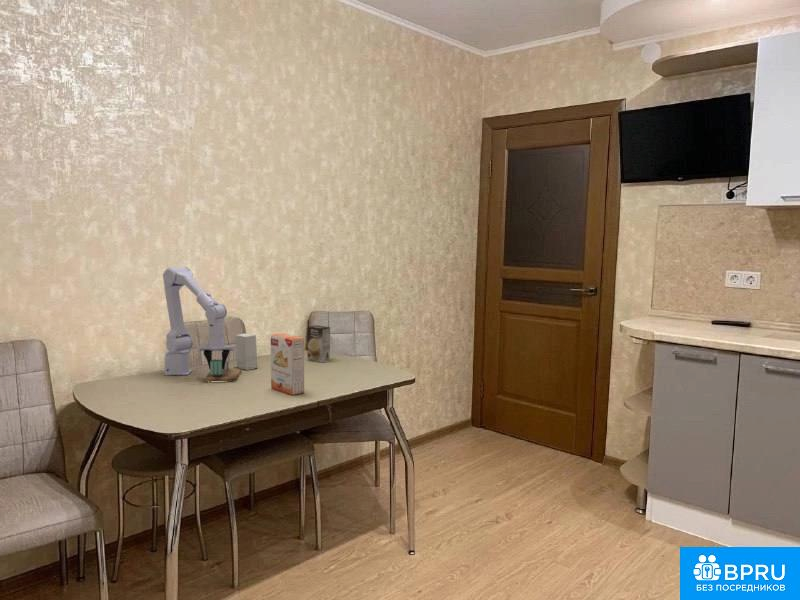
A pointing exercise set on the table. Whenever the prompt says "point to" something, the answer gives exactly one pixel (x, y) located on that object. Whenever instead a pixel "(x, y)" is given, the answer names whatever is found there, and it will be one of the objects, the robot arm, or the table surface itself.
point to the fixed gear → (226, 366)
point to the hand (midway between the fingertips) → (216, 368)
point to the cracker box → (287, 363)
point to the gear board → (224, 376)
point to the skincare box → (246, 351)
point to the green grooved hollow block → (216, 366)
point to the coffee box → (318, 344)
